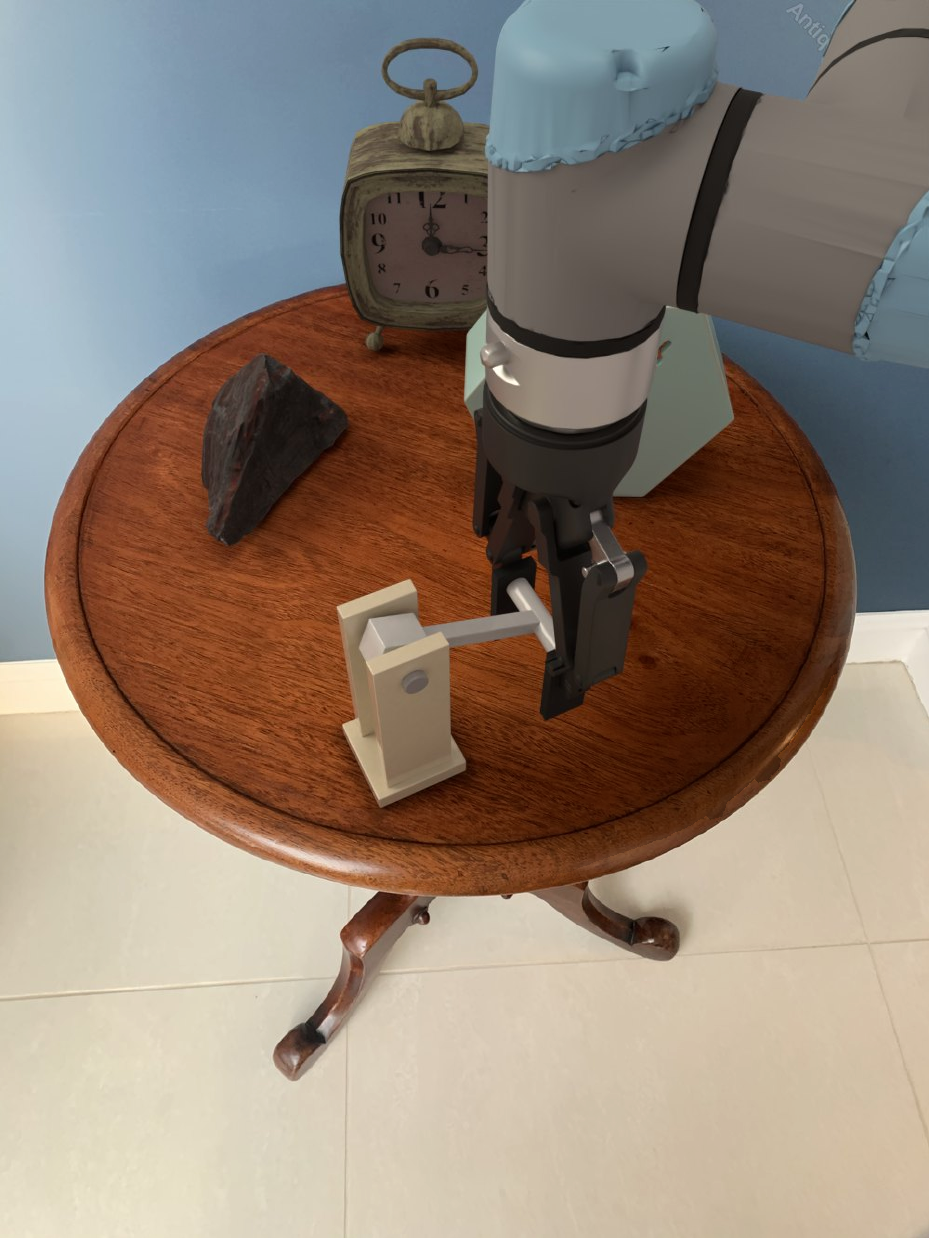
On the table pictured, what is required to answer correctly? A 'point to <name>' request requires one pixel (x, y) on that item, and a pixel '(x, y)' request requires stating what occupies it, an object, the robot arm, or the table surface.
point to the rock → (261, 443)
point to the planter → (655, 397)
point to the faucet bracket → (398, 701)
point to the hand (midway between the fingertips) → (535, 667)
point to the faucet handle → (464, 626)
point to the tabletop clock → (417, 211)
